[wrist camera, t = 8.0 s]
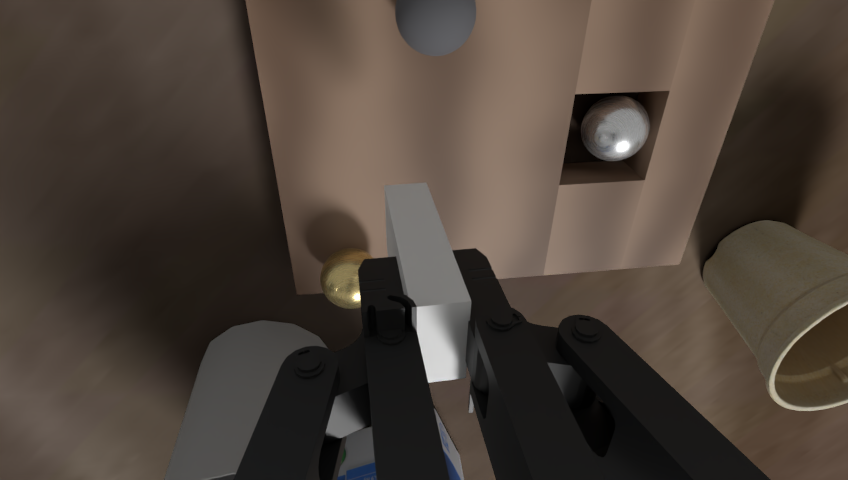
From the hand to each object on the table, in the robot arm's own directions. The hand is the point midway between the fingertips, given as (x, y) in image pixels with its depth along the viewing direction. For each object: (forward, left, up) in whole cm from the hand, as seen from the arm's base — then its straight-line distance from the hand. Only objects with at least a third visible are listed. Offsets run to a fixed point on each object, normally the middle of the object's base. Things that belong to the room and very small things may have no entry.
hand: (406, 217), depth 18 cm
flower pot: (+24, -10, -9) cm, 27 cm away
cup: (-8, -16, -9) cm, 20 cm away
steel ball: (+11, 0, -7) cm, 13 cm away
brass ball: (-2, -6, -4) cm, 8 cm away
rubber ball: (+2, +6, -4) cm, 8 cm away
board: (+6, 0, -8) cm, 10 cm away
